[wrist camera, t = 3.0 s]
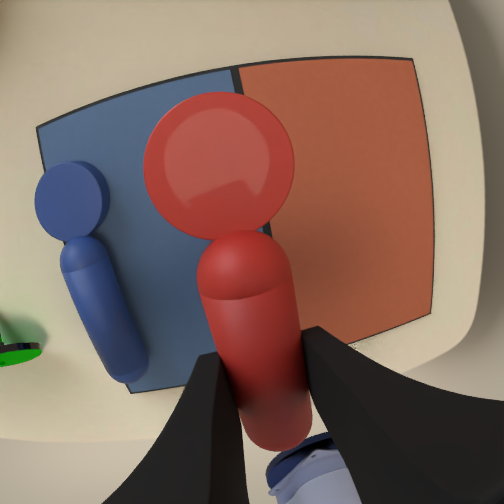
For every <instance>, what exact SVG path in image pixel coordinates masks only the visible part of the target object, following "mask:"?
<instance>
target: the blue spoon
mask: <svg viewBox="0 0 504 504" xmlns="http://www.w3.org/2000/svg"><path fill="white" fill-rule="evenodd" d="M109 204H110V193H109V188H108V185H107V182H106V180H105V178H104V176H103V175H102V173H101V172H100V171H99V170H98V169H97V168H96V167H94V166H93V165H91V164H89V163H87V162H84V161H68V162H61V163H58V164H56V165H54V166H52V167H51V168H49V169H48V170H47V171H46V172H45V173H44V174H43V176H42V177H41V179H40V181H39V183H38V185H37V188H36V192H35V210H36V214H37V217H38V220H39V222H40V224H41V225H42V227H43V228H44V229H45V231H46V232H47V233H49V234H50V235H51V236H52V237H54V238H56V239H58V240H61V241H65V242H67V244H66V245H65V246H64V248H63V250H62V252H61V255H60V267H61V271H62V274H63V277H64V279H65V282H66V284H67V287H68V289H69V292H70V294H71V297H72V299H73V302H74V304H75V306H76V309H77V311H78V313H79V315H80V318H81V320H82V322H83V324H84V326H85V329H86V331H87V333H88V335H89V337H90V339H91V341H92V343H93V345H94V347H95V349H96V351H97V353H98V355H99V357H100V359H101V361H102V363H103V365H104V367H105V368H106V370H107V372H108V373H109V375H110V376H111V377H112V378H113V379H115V380H116V381H118V382H120V383H124V384H132V383H136V382H138V381H139V380H141V379H142V378H143V377H144V376H145V374H146V373H147V370H148V366H149V359H148V356H147V353H146V350H145V348H144V346H143V344H142V341H141V339H140V337H139V334H138V332H137V330H136V327H135V325H134V322H133V320H132V317H131V315H130V312H129V310H128V307H127V305H126V302H125V300H124V297H123V294H122V292H121V289H120V286H119V284H118V281H117V278H116V275H115V272H114V269H113V267H112V264H111V261H110V258H109V255H108V252H107V250H106V248H105V246H104V245H103V244H102V243H101V242H100V241H99V240H98V239H96V238H95V237H92V236H88V235H89V234H91V233H92V232H93V231H94V230H96V229H97V228H98V227H99V226H100V225H101V224H102V222H103V221H104V219H105V218H106V215H107V213H108V209H109Z"/></svg>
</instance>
